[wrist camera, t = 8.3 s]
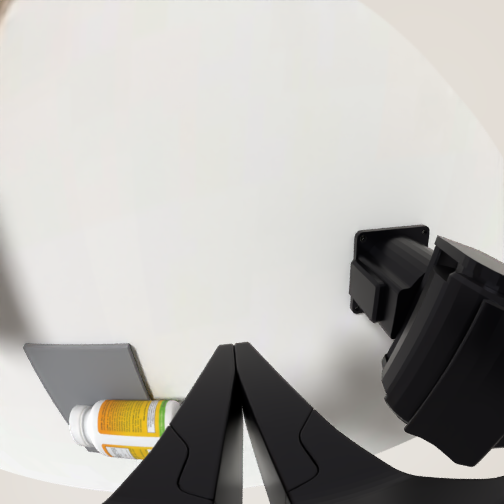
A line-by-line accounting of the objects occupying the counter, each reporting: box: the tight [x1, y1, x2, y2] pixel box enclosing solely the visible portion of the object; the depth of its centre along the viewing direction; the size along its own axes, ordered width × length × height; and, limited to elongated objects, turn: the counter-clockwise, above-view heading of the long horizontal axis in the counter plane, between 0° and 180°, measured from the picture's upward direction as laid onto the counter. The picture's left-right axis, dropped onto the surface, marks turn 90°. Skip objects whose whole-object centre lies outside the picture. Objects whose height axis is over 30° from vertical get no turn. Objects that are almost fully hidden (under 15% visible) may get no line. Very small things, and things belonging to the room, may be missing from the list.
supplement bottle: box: [69, 400, 181, 460], centre depth 21 cm, size 5×5×10 cm
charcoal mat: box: [23, 343, 151, 453], centre depth 24 cm, size 11×16×1 cm
